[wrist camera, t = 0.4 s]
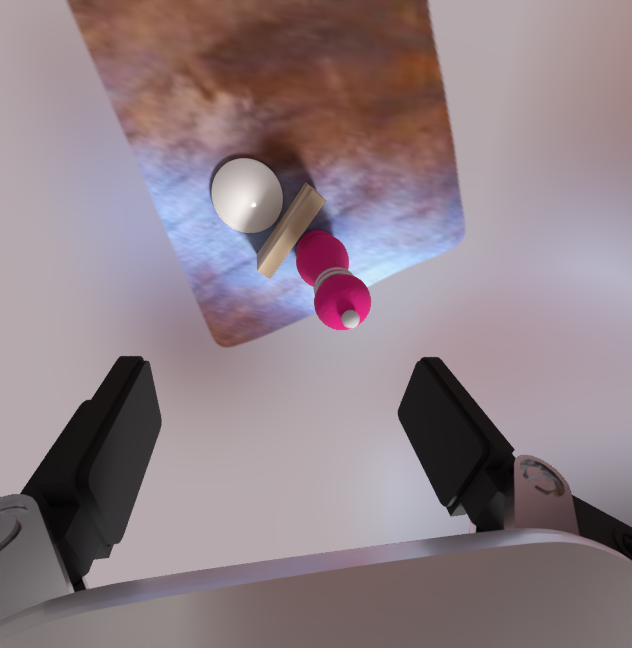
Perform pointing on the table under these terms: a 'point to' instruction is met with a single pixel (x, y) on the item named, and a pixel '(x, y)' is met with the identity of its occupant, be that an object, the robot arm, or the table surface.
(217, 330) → the table surface
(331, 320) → the pepper mill
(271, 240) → the oak rail
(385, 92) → the table surface
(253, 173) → the coaster
